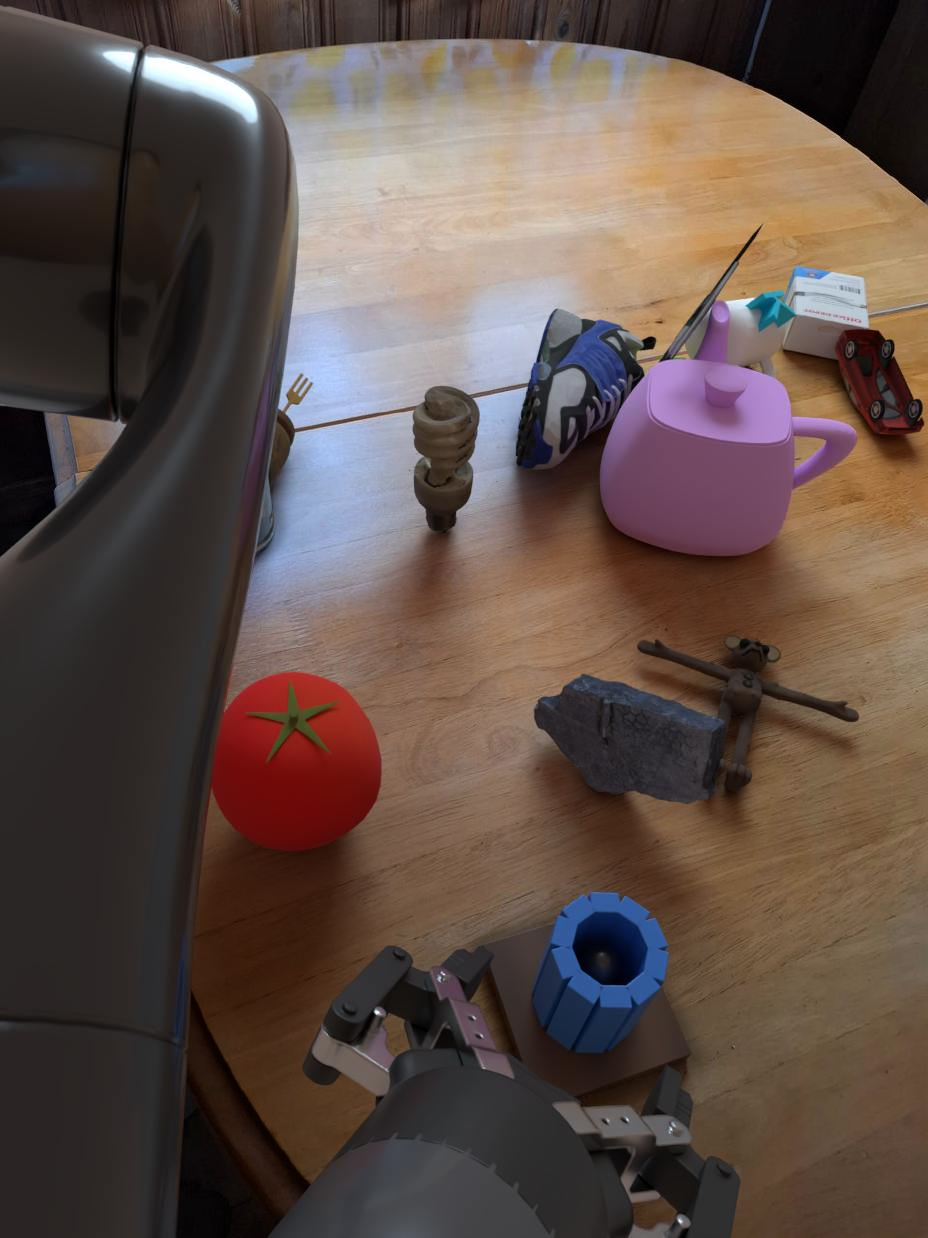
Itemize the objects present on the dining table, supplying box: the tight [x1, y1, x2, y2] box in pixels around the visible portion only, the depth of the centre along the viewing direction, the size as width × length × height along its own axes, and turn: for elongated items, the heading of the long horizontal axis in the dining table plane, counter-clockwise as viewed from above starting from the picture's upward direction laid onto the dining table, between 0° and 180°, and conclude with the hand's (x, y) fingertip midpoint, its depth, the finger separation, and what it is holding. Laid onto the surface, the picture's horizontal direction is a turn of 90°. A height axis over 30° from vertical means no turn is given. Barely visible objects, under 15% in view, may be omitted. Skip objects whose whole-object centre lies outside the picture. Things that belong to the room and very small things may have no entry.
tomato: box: [211, 671, 383, 852], centre depth 60 cm, size 11×11×13 cm
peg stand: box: [481, 921, 692, 1100], centre depth 54 cm, size 10×10×8 cm
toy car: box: [834, 328, 925, 436], centre depth 100 cm, size 6×15×5 cm, turn 10°
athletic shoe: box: [514, 308, 657, 471], centre depth 92 cm, size 10×26×12 cm
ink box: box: [782, 265, 871, 361], centre depth 109 cm, size 8×5×12 cm
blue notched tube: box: [532, 891, 670, 1053], centre depth 53 cm, size 6×7×8 cm
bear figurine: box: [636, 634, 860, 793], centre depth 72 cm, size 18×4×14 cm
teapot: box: [599, 299, 858, 557], centre depth 84 cm, size 23×21×15 cm
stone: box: [533, 672, 727, 805], centre depth 65 cm, size 14×6×10 cm, turn 69°
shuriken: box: [657, 222, 765, 363], centre depth 89 cm, size 24×1×21 cm, turn 154°
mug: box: [684, 289, 796, 380], centre depth 99 cm, size 12×9×12 cm
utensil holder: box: [268, 373, 314, 487], centre depth 87 cm, size 6×6×12 cm
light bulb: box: [412, 385, 481, 534], centre depth 79 cm, size 6×6×15 cm
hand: (567, 1026), depth 37 cm, fingers open, 8 cm apart
